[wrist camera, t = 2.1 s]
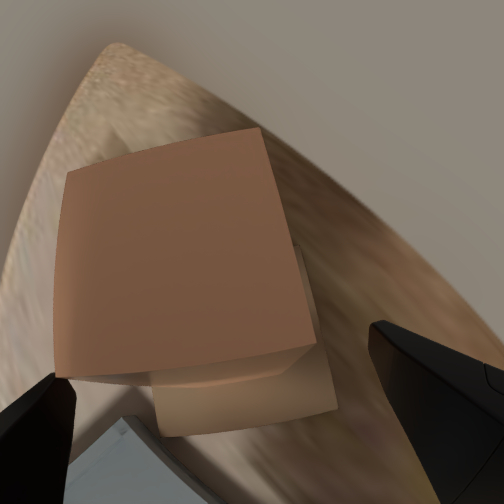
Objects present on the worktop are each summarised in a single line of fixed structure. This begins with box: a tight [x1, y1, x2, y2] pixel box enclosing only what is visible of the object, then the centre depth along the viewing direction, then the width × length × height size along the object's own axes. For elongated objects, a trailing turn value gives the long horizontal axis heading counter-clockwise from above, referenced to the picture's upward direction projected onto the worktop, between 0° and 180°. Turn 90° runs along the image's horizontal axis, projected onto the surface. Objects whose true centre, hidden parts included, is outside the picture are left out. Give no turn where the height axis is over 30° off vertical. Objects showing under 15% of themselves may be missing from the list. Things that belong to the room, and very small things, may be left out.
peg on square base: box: [152, 245, 339, 438], centre depth 16 cm, size 10×10×4 cm
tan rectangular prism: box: [53, 127, 317, 388], centre depth 12 cm, size 6×5×13 cm
